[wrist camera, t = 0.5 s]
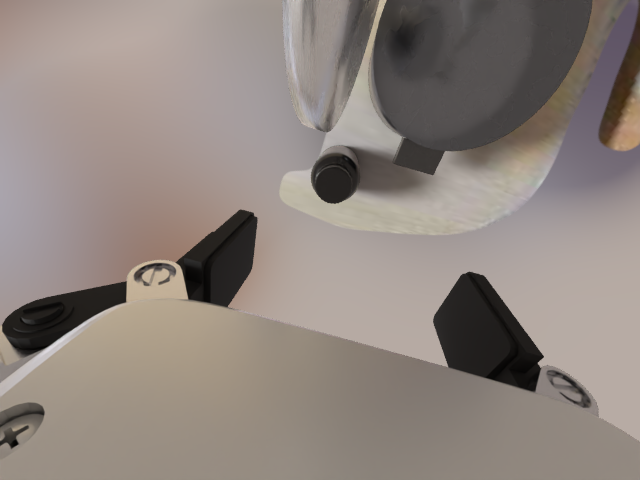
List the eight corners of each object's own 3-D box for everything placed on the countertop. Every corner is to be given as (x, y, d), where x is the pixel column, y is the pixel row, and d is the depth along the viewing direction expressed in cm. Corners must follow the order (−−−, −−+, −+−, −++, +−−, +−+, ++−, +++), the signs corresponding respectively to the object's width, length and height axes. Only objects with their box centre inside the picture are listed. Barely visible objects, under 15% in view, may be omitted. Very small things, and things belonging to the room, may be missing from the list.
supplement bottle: (319, 187, 43) (307, 211, 32) (317, 145, 40) (302, 157, 29) (359, 186, 42) (359, 211, 31) (359, 144, 39) (361, 155, 28)
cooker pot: (408, -77, 27) (441, -196, 17) (561, -32, 27) (689, -122, 17) (346, 140, 39) (342, 150, 28) (454, 172, 39) (491, 194, 28)
